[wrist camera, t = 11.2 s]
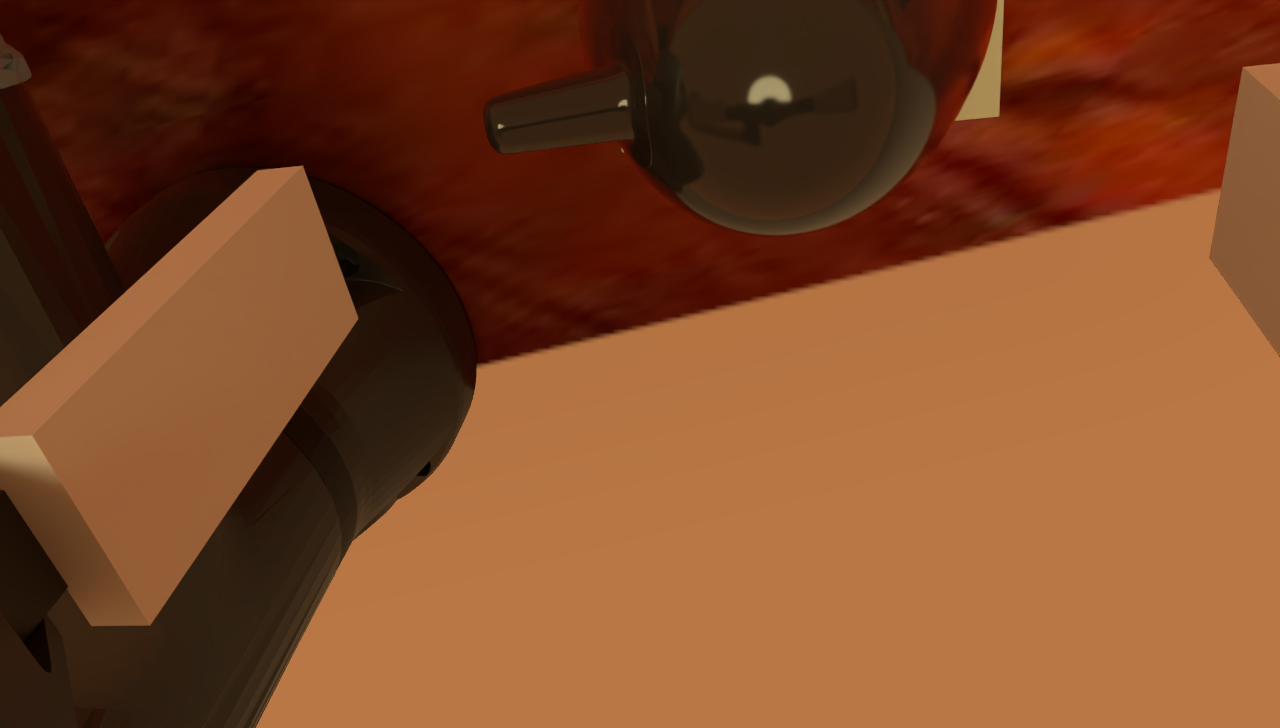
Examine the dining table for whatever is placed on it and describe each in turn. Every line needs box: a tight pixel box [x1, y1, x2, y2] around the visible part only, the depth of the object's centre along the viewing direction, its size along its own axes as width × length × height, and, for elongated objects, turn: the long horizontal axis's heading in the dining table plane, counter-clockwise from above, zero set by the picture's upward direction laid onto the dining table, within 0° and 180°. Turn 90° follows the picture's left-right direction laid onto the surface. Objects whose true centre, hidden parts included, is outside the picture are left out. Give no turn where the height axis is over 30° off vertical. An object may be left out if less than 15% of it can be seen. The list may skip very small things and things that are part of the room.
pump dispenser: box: [483, 0, 998, 237], centre depth 23 cm, size 10×10×15 cm
